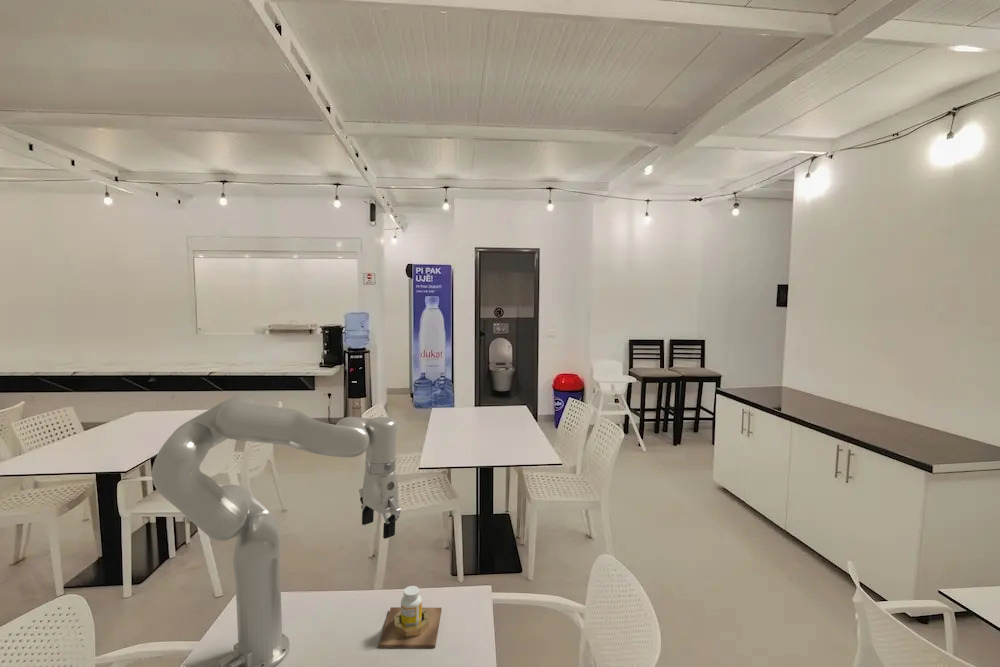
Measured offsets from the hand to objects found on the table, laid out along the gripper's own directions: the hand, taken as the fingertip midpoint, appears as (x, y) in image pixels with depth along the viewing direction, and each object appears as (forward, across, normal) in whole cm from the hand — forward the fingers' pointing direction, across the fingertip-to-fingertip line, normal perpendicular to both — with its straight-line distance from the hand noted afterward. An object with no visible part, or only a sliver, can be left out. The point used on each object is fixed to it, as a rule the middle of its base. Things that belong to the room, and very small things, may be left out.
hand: (378, 529), depth 125 cm
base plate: (+26, -8, -6) cm, 27 cm away
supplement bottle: (+25, -8, -6) cm, 27 cm away
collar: (+26, -8, -6) cm, 27 cm away
